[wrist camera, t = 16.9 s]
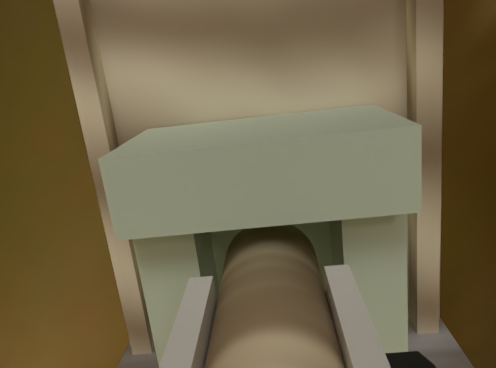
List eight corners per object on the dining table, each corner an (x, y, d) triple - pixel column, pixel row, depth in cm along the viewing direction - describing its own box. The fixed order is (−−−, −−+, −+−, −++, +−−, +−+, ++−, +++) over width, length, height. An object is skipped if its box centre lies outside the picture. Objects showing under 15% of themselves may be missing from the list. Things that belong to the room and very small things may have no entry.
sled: (147, 128, 19) (98, 159, 13) (372, 104, 18) (421, 124, 13) (185, 337, 22) (158, 434, 16) (379, 322, 22) (421, 419, 16)
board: (49, -66, 18) (-28, -111, 13) (435, -122, 17) (502, -192, 12) (140, 351, 24) (109, 425, 19) (431, 330, 23) (476, 402, 18)
